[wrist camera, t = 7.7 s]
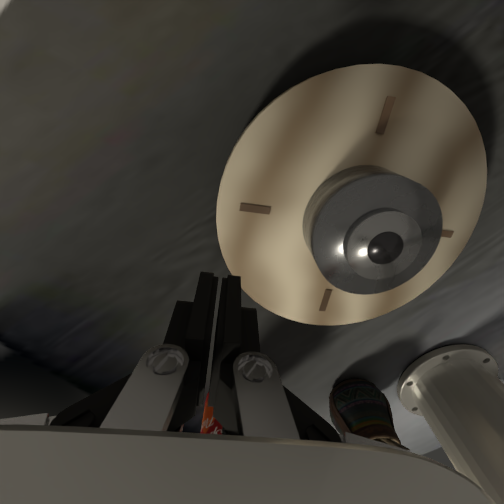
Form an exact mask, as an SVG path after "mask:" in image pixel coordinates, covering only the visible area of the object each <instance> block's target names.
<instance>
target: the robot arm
mask: <svg viewBox="0 0 504 504" xmlns="http://www.w3.org/2000/svg"><path fill="white" fill-rule="evenodd" d="M213 276H214V273H208V272H201V273H200V277H199V282H198V286H197V290H196V294H195V299H194V302H187V301H177V303H176V305H175V309H174V312H173V315H172V318H171V321H170V324H169V327H168V330H167V333H166V336H165V340H164V343H163V344H162V345H158V346H155V347H152V348H151V349H149V350H148V351H147V352H146V353H145V354H144V355H143V356H142V358H141V360H140V361H139V363H138V365H137V366H136V368H135V370H134V371H133V373H131V374H129V375H128V376H126V377H124V378H122V379H120V380H118V381H116V382H114V383H113V384H111V385H109V386H107V387H105V388H103V389H101V390H99V391H98V392H96V393H94V394H92V395H90V396H88V397H86V398H84V399H83V400H81V401H79V402H77V403H75V404H73V405H71V406H69V407H68V408H66V409H65V410H63V411H62V412H60V413H59V414H58V415H57V416H52V417H49V416H48V413H45V414H37V415H29V416H22V417H15V418H7V419H0V504H504V383H503V382H502V381H501V380H500V379H499V378H498V377H497V376H498V366H497V362H496V361H495V360H494V358H493V357H492V356H491V355H490V354H489V353H488V352H487V351H485V350H484V349H482V348H480V347H477V346H473V345H465V344H460V345H450V346H445V347H442V348H439V349H436V350H433V351H431V352H429V353H427V354H425V355H423V356H422V357H420V358H418V359H417V360H416V361H414V362H413V363H412V364H411V365H410V366H409V367H408V368H407V369H406V370H405V371H404V373H403V374H402V376H401V378H400V379H399V382H398V385H397V393H398V397H399V399H400V401H401V403H402V405H403V406H404V407H405V408H406V409H407V410H408V411H410V412H411V413H414V414H416V415H420V416H424V418H425V420H426V421H427V423H428V424H429V426H430V428H431V429H432V431H433V433H434V434H435V436H436V438H437V439H438V441H439V443H440V444H441V446H442V447H443V449H444V451H445V452H446V454H447V455H448V457H449V459H450V460H451V462H452V464H453V465H454V467H455V469H456V470H457V471H456V470H454V469H452V468H450V467H448V466H446V465H443V464H441V463H439V462H437V461H435V460H432V459H430V458H427V457H424V456H421V455H418V454H415V453H412V452H410V451H407V450H405V449H402V448H399V447H396V446H392V445H389V444H385V443H382V442H379V441H375V440H372V439H368V438H365V437H361V436H358V435H355V434H351V433H348V432H345V433H344V435H341V434H338V433H337V431H336V430H335V429H334V428H333V427H332V426H331V425H330V424H329V423H328V422H327V421H325V420H324V419H323V418H322V417H321V416H319V415H318V414H317V413H316V412H314V411H313V410H312V409H311V408H310V407H308V406H307V405H306V404H305V403H304V402H302V401H301V400H300V399H299V398H298V397H296V396H295V395H294V394H293V393H291V392H290V391H289V390H288V389H287V388H285V387H284V386H283V385H282V382H281V379H280V376H279V373H278V370H277V367H276V365H275V363H274V362H273V361H272V360H271V359H270V357H268V356H266V355H265V354H262V353H260V345H259V333H258V322H257V311H256V309H255V308H245V307H241V276H234V275H228V278H222V286H221V293H220V301H219V309H218V316H217V324H216V332H215V341H214V350H213V360H212V369H211V379H210V388H209V398H208V407H213V417H214V418H215V419H216V420H217V421H218V422H219V423H220V424H221V425H222V435H219V434H202V433H185V432H182V430H183V424H184V423H185V422H187V421H188V420H189V419H191V418H192V417H193V416H195V413H196V406H203V399H204V391H205V383H206V374H207V366H208V358H209V350H210V342H211V334H212V326H213V318H214V309H215V301H216V293H217V285H218V277H213Z"/></svg>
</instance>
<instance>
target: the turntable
mask: <svg viewBox="0 0 504 504" xmlns="http://www.w3.org/2000/svg"><path fill="white" fill-rule="evenodd" d="M359 165H375V166H380V167H383V168H386V169H388V170H390V171H393V172H395V173H397V174H399V175H402V176H404V177H406V178H409V179H411V180H413V181H415V182H417V183H420V184H421V185H423V186H424V187H426V188H427V189H428V190H429V191H430V192H431V193H432V194H433V195H434V197H435V198H436V199H437V201H438V203H439V206H440V209H441V212H442V219H443V228H442V234H441V238H440V241H439V244H438V246H437V249H436V251H435V253H434V254H433V256H432V258H431V259H430V260H429V262H428V263H427V264H426V265H425V266H424V268H423V269H422V270H421V271H420V272H419V273H417V274H416V275H415V276H414V277H413V278H411V279H410V280H409V281H407V282H405V283H404V284H402V285H400V286H398V287H396V288H394V289H391V290H388V291H385V292H381V293H377V294H368V295H361V294H353V293H348V292H345V291H342V290H340V289H338V288H336V287H335V286H333V285H332V284H330V283H329V282H328V281H327V280H326V279H325V277H324V276H323V275H322V273H321V272H320V270H319V268H318V266H317V264H316V262H315V260H314V258H313V256H312V255H311V253H310V251H309V249H308V247H307V245H306V242H305V240H304V236H303V228H302V224H303V216H304V212H305V209H306V206H307V204H308V202H309V200H310V198H311V197H312V195H313V194H314V192H315V191H316V190H317V189H318V187H319V186H320V185H321V184H322V183H323V182H325V181H326V180H327V179H328V178H330V177H331V176H332V175H334V174H336V173H338V172H339V171H342V170H344V169H347V168H350V167H354V166H359ZM486 182H487V162H486V152H485V148H484V144H483V140H482V136H481V134H480V131H479V129H478V126H477V124H476V122H475V120H474V118H473V116H472V115H471V113H470V112H469V110H468V109H467V107H466V105H465V104H464V103H463V102H462V101H461V100H460V99H459V98H458V97H457V96H456V95H455V94H454V92H453V91H451V90H450V89H449V88H447V87H446V86H445V85H443V84H442V83H440V82H439V81H438V80H436V79H434V78H432V77H430V76H428V75H426V74H424V73H422V72H419V71H416V70H412V69H409V68H406V67H402V66H396V65H387V64H361V65H354V66H349V67H344V68H339V69H335V70H331V71H328V72H325V73H322V74H319V75H317V76H314V77H311V78H308V79H306V80H304V81H302V82H300V83H298V84H297V85H295V86H293V87H291V88H289V89H288V90H286V91H285V92H283V93H282V94H281V95H279V96H278V97H276V98H275V99H273V100H272V101H271V102H270V103H269V104H268V105H267V106H266V107H265V108H263V109H262V110H261V111H260V112H259V113H258V114H257V115H256V116H255V118H254V119H253V120H252V121H251V122H250V124H249V125H248V126H247V127H246V128H245V130H244V131H243V133H242V134H241V136H240V137H239V139H238V141H237V142H236V144H235V145H234V147H233V149H232V152H231V154H230V156H229V158H228V160H227V162H226V165H225V168H224V172H223V175H222V178H221V182H220V188H219V193H218V200H217V216H216V223H217V233H218V240H219V244H220V248H221V252H222V255H223V257H224V260H225V262H226V264H227V267H228V269H229V270H230V272H231V274H232V275H234V276H241V288H242V289H243V290H244V291H245V292H246V293H247V294H248V295H249V296H250V297H251V298H252V299H253V300H254V301H256V302H257V303H259V304H260V305H261V306H263V307H264V308H266V309H267V310H269V311H271V312H273V313H275V314H277V315H279V316H282V317H284V318H287V319H290V320H293V321H297V322H301V323H306V324H314V325H344V324H350V323H356V322H361V321H365V320H368V319H372V318H375V317H378V316H380V315H383V314H386V313H388V312H390V311H392V310H394V309H396V308H398V307H401V306H403V305H404V304H406V303H407V302H409V301H411V300H412V299H414V298H416V297H417V296H418V295H420V294H421V293H422V292H424V291H425V290H426V289H428V288H429V287H430V286H431V285H432V284H433V283H434V282H435V281H437V280H438V279H439V278H440V277H441V276H442V275H443V274H444V273H445V272H446V270H447V269H448V268H449V267H450V266H451V265H452V264H453V262H454V261H455V260H456V258H457V257H458V256H459V254H460V253H461V252H462V250H463V248H464V247H465V245H466V243H467V242H468V240H469V238H470V237H471V234H472V232H473V230H474V228H475V226H476V223H477V221H478V218H479V215H480V212H481V209H482V206H483V201H484V196H485V191H486Z"/></svg>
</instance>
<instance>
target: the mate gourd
mask: <svg viewBox="0 0 504 504" xmlns="http://www.w3.org/2000/svg"><path fill="white" fill-rule="evenodd" d="M329 399H330V400H329V401H330V402H329V407H330V416H331V420H332V422H333V424H334V426H335V427H336V429H337V431H338V432H339V433H340V434H341V435H344V433H345V432H348V433H351V434H355V435H358V436H361V437H365V438H368V439H372V440H375V441H379V442H382V443H385V444H389V445H392V446H396V447H399V448H402V449H405V450H410V449H408V448H406V447H404V446H403V445H401V442H400V440H399V438H398V436H397V434H396V432H395V429H394V424H393V418H392V412H391V408H390V404H389V402H388V400H387V398H386V397H385V395H384V394H383V393H382V392H381V391H380V390H379V389H377V388H376V386H375V385H374V384H373V383H371V382H369V381H367V380H363V379H348V380H345V381H343V382H341V383H340V384H339V385H337V386H336V387H335V388H334V389H333V390H332V391H331V393H330V397H329Z"/></svg>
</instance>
